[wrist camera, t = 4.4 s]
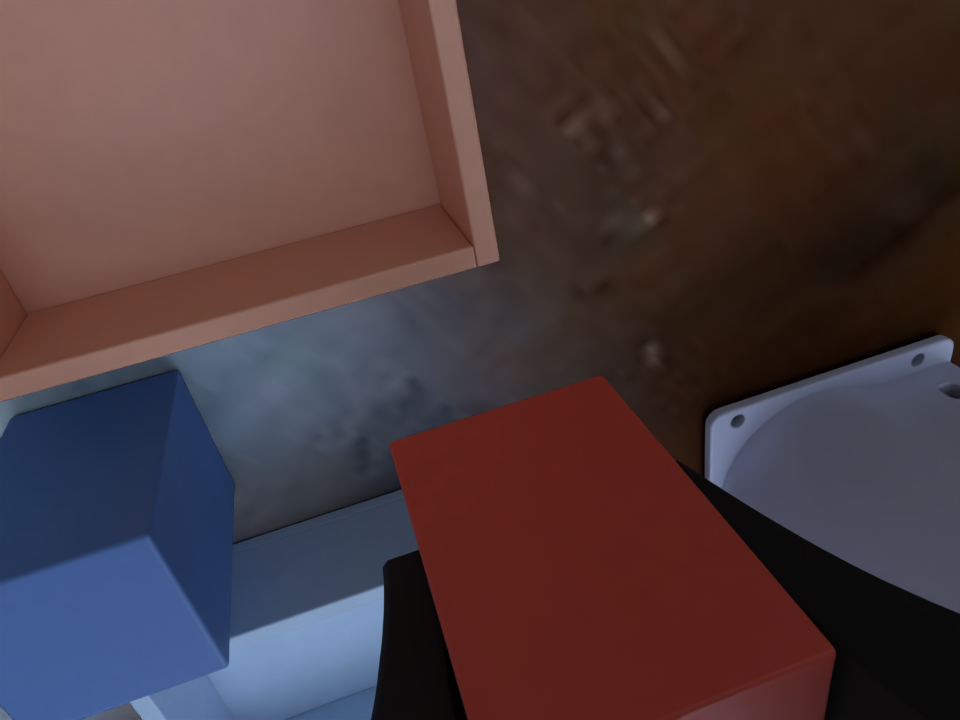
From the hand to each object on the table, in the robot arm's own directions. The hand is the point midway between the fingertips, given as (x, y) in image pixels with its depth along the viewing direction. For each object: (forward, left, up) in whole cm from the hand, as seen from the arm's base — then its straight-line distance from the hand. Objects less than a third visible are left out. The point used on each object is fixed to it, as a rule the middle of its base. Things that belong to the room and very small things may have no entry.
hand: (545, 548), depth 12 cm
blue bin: (+5, +9, -8) cm, 13 cm away
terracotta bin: (+4, -7, -8) cm, 12 cm away
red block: (0, 0, -2) cm, 2 cm away
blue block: (+8, +1, -8) cm, 12 cm away
